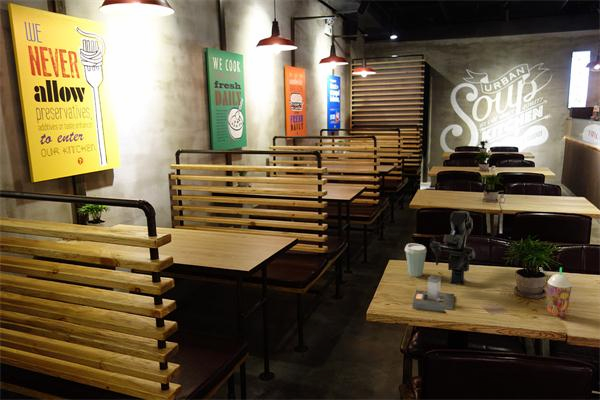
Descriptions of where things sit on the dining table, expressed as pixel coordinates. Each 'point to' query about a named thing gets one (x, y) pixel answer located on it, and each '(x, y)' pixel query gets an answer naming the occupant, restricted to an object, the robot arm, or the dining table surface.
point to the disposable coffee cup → (415, 259)
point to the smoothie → (558, 294)
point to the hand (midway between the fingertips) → (446, 266)
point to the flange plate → (432, 302)
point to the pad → (494, 309)
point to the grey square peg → (434, 288)
